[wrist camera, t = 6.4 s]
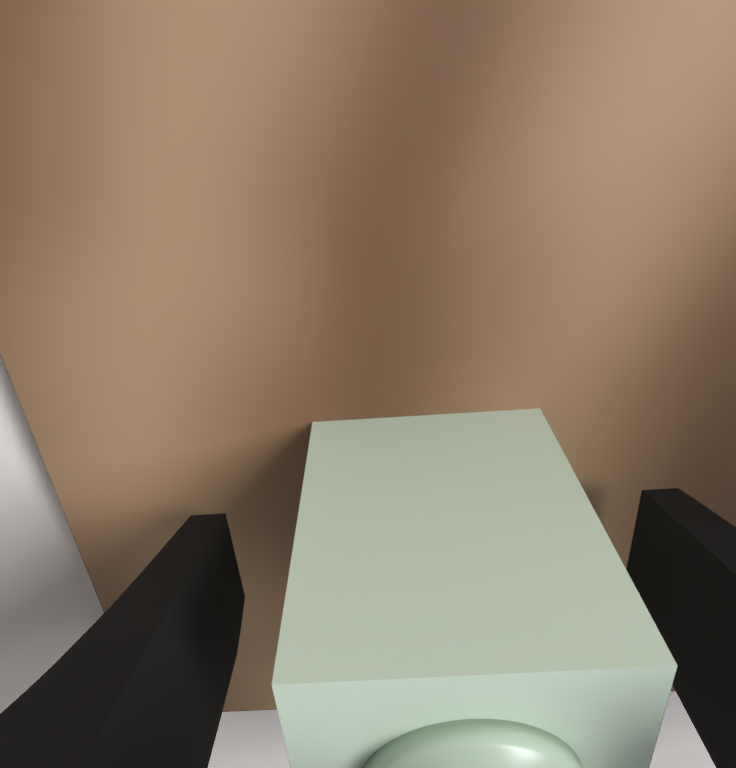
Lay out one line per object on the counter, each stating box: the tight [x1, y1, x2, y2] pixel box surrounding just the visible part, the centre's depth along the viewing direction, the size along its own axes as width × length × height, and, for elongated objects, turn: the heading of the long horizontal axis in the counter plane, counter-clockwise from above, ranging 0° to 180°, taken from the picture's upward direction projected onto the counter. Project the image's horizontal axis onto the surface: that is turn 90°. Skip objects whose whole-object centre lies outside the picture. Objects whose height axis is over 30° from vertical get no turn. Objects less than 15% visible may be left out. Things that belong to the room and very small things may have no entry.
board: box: [0, 0, 736, 712], centre depth 10 cm, size 14×20×1 cm
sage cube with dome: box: [272, 408, 678, 768], centre depth 9 cm, size 4×4×5 cm
